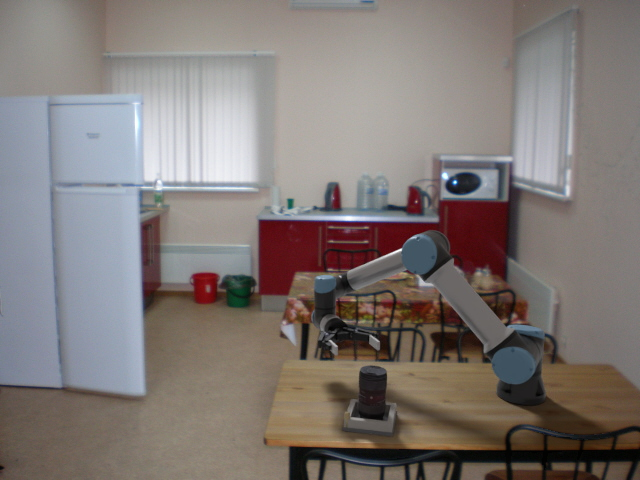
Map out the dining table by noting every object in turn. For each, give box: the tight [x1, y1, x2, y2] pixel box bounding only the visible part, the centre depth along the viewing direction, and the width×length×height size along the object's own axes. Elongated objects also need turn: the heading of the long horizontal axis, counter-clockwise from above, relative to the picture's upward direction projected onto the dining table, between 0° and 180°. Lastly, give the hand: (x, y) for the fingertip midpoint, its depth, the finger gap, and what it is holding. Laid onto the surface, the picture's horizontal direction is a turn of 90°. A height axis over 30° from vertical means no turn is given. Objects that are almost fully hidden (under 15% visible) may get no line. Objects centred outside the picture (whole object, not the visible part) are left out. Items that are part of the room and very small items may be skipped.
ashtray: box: [342, 398, 398, 437], centre depth 173 cm, size 14×14×5 cm
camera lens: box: [357, 364, 388, 421], centre depth 173 cm, size 8×8×15 cm
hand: (357, 348), depth 180 cm, fingers open, 13 cm apart
